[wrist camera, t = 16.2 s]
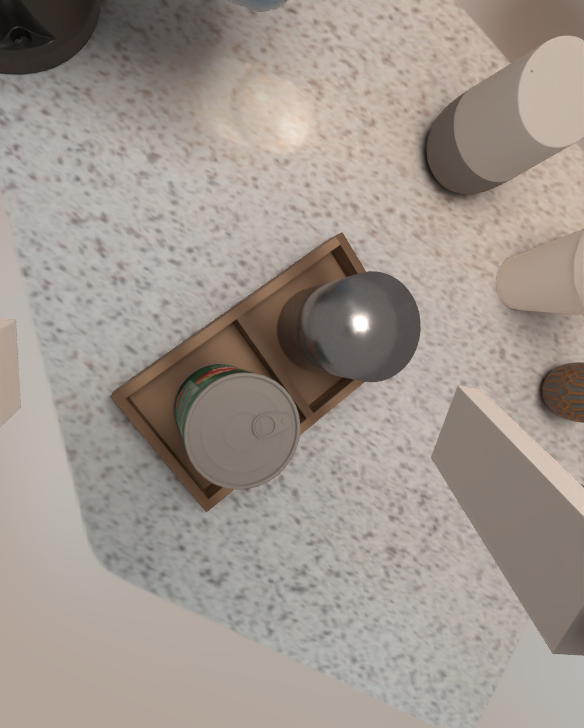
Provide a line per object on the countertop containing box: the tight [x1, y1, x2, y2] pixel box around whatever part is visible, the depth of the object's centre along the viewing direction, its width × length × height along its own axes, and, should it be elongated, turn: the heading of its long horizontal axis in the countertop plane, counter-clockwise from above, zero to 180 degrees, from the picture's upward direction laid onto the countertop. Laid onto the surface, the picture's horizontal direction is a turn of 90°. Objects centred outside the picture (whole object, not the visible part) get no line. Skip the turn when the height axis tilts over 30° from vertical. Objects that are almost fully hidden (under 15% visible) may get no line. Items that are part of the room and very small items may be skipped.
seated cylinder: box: [277, 271, 420, 382], centre depth 37 cm, size 8×8×11 cm
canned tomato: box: [173, 363, 300, 489], centre depth 34 cm, size 8×8×11 cm
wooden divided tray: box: [110, 232, 366, 512], centre depth 40 cm, size 24×13×4 cm, turn 125°
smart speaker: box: [427, 36, 584, 194], centre depth 40 cm, size 10×9×14 cm
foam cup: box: [497, 229, 584, 315], centre depth 44 cm, size 10×9×13 cm
